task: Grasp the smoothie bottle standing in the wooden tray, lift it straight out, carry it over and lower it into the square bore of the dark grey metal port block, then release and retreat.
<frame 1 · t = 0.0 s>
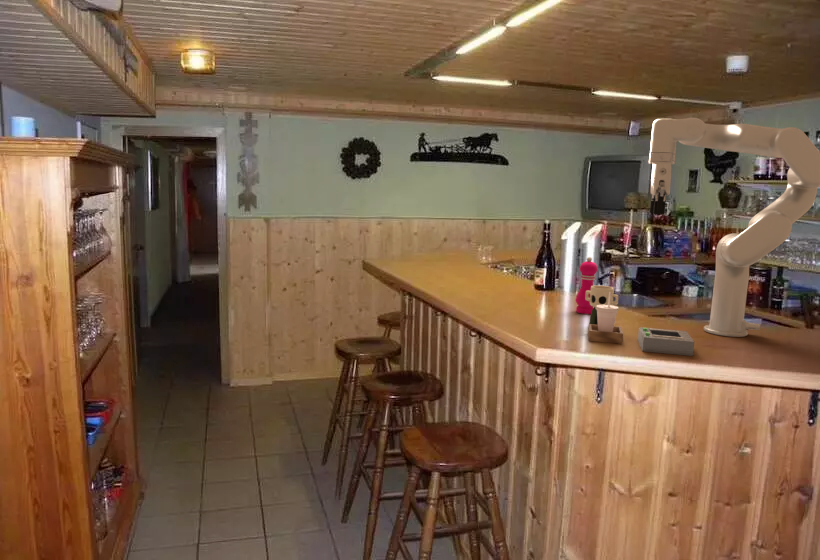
hand: (656, 213, 202), 37 cm above the table, tool pointing down, fingers open, 9 cm apart
wooden tray: (604, 338, 188), on the table
port: (664, 347, 179), on the table
character mug: (599, 327, 203), on the table
pepper mill: (585, 312, 226), on the table
smoothie: (604, 339, 188), resting in wooden tray
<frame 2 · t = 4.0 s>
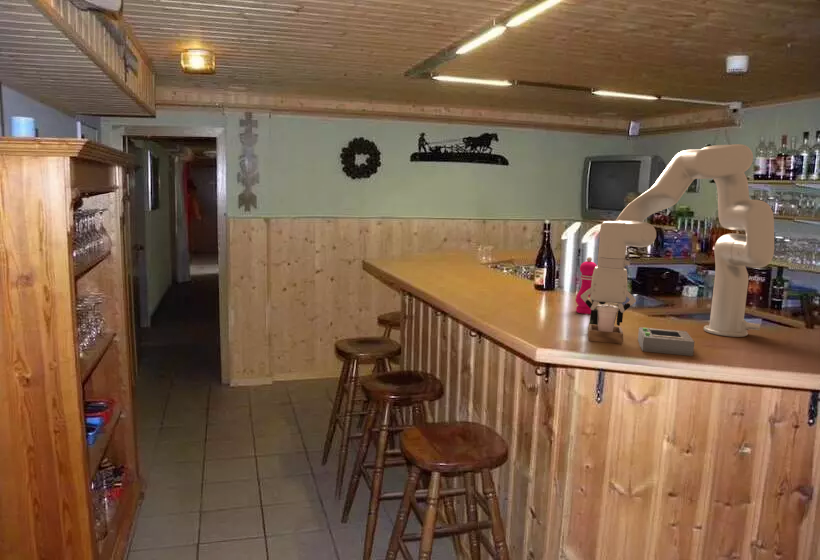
hand: (605, 323, 187), 5 cm above the table, tool pointing down, fingers closed on smoothie, 6 cm apart
smoothie: (604, 339, 188), resting in wooden tray, touching gripper
everything else where it was.
when the fingers open (6 cm above the table, at t = 9.8 s): smoothie drops 1 cm, resting in port.
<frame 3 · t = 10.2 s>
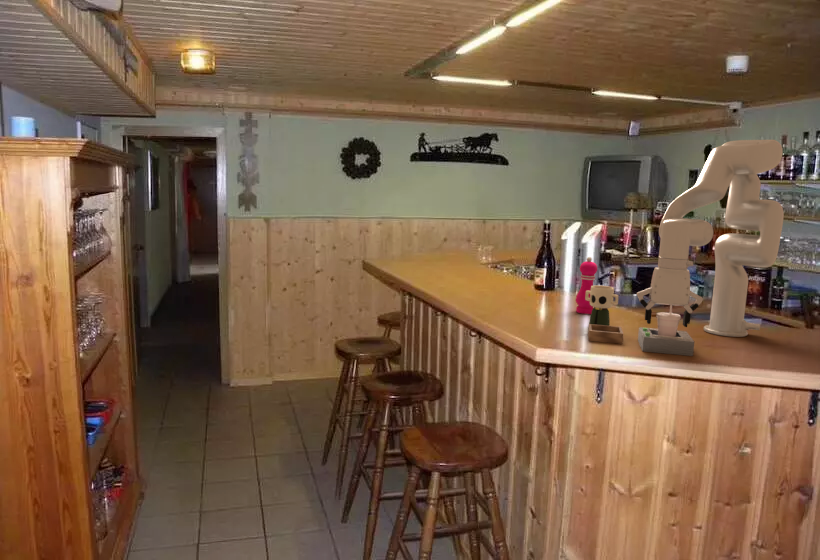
hand: (666, 324, 178), 7 cm above the table, tool pointing down, fingers open, 9 cm apart
smoothie: (665, 348, 179), resting in port
everything else where it was.
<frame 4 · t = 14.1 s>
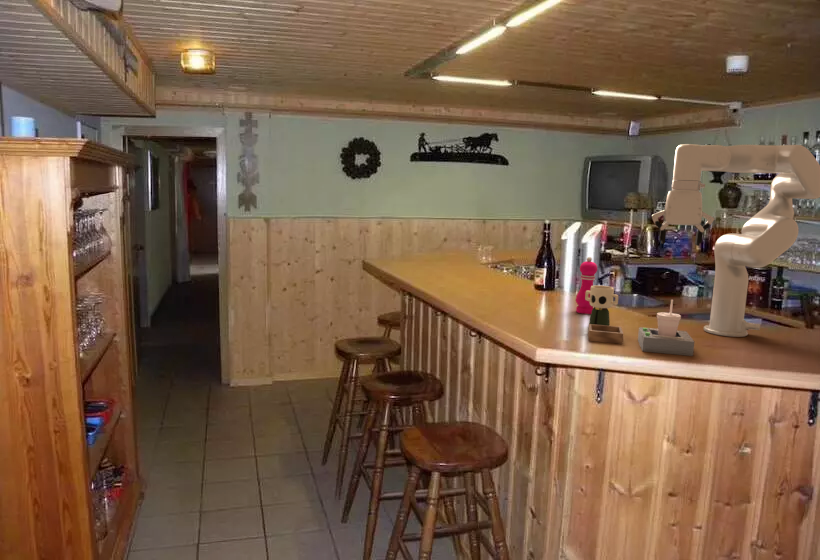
hand: (679, 244, 190), 28 cm above the table, tool pointing down, fingers open, 9 cm apart
nothing on the table moved.
at the end: smoothie 0.4 cm off-centre on the port, point 0.0 cm above the port's base; smoothie tilted 0°; the gripper is holding nothing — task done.
